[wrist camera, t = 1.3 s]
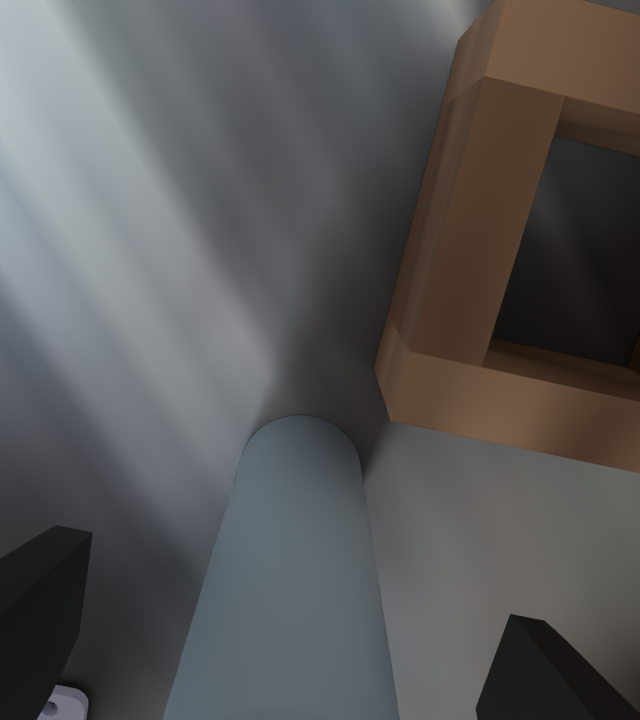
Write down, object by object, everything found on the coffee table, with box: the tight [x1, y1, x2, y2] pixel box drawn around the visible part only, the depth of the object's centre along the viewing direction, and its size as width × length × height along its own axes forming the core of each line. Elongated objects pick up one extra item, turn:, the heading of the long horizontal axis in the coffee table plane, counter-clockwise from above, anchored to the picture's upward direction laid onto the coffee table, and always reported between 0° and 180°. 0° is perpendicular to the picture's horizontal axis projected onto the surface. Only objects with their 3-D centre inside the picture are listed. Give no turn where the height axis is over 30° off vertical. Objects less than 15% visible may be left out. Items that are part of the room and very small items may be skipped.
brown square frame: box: [374, 0, 640, 473], centre depth 12 cm, size 8×8×4 cm
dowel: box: [162, 415, 400, 720], centre depth 11 cm, size 3×3×9 cm
